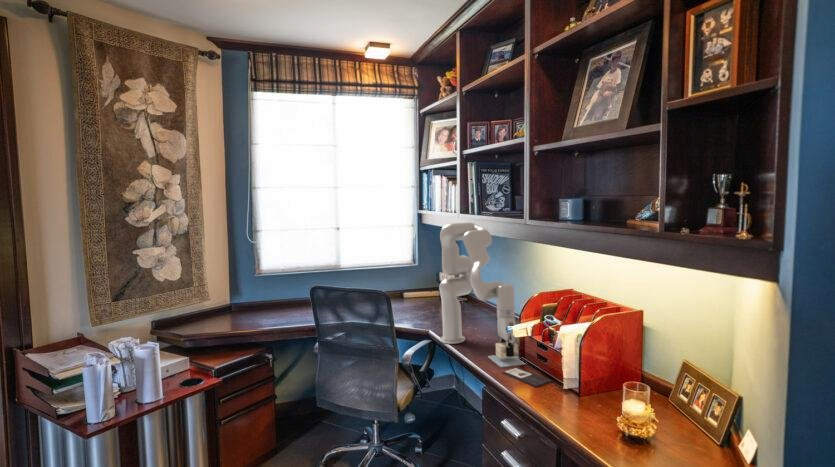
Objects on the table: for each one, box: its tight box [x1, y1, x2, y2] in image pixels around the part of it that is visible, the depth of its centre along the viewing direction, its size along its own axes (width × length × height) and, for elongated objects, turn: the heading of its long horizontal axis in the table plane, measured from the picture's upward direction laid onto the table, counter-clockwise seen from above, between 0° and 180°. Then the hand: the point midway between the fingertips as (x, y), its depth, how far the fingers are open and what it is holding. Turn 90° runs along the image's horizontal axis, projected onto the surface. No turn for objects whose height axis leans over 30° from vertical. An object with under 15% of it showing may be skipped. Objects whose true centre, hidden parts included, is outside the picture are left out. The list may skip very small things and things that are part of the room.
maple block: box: [495, 341, 519, 358], centre depth 197 cm, size 8×6×5 cm
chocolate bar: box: [501, 366, 554, 389], centre depth 177 cm, size 9×1×18 cm
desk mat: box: [487, 354, 527, 368], centre depth 197 cm, size 14×12×1 cm
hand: (506, 353), depth 197 cm, fingers closed on maple block, 5 cm apart
